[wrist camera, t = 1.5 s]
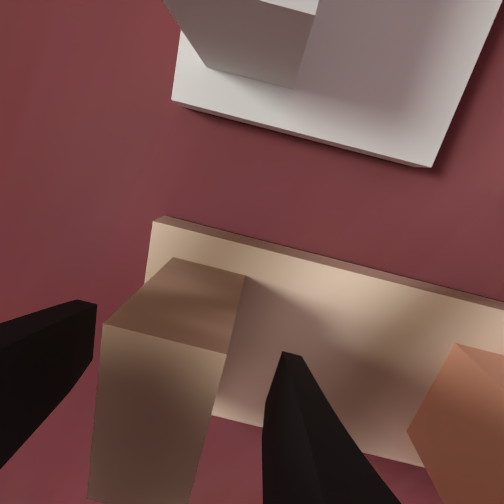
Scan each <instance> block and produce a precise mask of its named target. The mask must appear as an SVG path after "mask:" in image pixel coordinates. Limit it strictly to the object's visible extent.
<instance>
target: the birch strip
mask: <svg viewBox="0 0 504 504" xmlns="http://www.w3.org/2000/svg"><path fill="white" fill-rule="evenodd" d="M455 343H457V344H461V345H465V346H469V347H473V348H477V349H481V350H485V351H489V352H493V353H497V354H501V355H504V302H501V301H497V300H493V299H489V298H485V297H481V296H478V295H474V294H470V293H466V292H462V291H458V290H454V289H450V288H446V287H442V286H438V285H434V284H431V283H427V282H423V281H419V280H415V279H411V278H407V277H403V276H399V275H395V274H391V273H387V272H384V271H380V270H376V269H372V268H368V267H364V266H360V265H356V264H352V263H348V262H344V261H341V260H337V259H333V258H329V257H325V256H321V255H317V254H313V253H309V252H305V251H301V250H297V249H294V248H290V247H286V246H282V245H278V244H274V243H270V242H266V241H262V240H258V239H254V238H250V237H247V236H243V235H239V234H235V233H231V232H227V231H223V230H219V229H215V228H211V227H207V226H204V225H200V224H196V223H192V222H188V221H184V220H180V219H176V218H172V217H168V216H163V217H161V218H158V219H156V220H154V221H153V225H152V232H151V239H150V247H149V254H148V261H147V268H146V275H145V282H144V285H143V286H142V287H141V288H140V289H139V290H138V291H137V292H136V293H135V294H134V295H133V296H132V297H130V298H129V299H128V300H127V301H126V302H125V303H124V304H123V305H122V306H121V307H120V308H119V309H118V310H117V311H116V312H115V313H114V314H113V315H112V316H110V317H109V318H108V319H107V320H106V321H105V322H104V323H103V330H102V340H101V351H100V362H99V372H98V383H97V393H96V404H95V415H94V425H93V436H92V446H91V457H90V468H89V478H88V489H87V499H90V500H94V501H98V502H102V503H106V504H188V502H189V498H190V494H191V490H192V486H193V483H194V479H195V475H196V471H197V467H198V463H199V460H200V456H201V452H202V448H203V444H204V440H205V436H206V433H207V429H208V425H209V421H210V417H211V415H214V416H218V417H222V418H226V419H230V420H234V421H238V422H242V423H246V424H250V425H254V426H258V427H263V420H264V409H265V401H266V398H267V395H268V392H269V389H270V386H271V383H272V380H273V377H274V374H275V371H276V368H277V365H278V362H279V359H280V356H281V353H282V351H284V352H288V353H292V354H296V355H300V356H302V357H303V359H304V361H305V362H306V364H307V366H308V368H309V369H310V371H311V373H312V375H313V376H314V378H315V380H316V382H317V383H318V385H319V387H320V388H321V390H322V392H323V394H324V395H325V397H326V399H327V400H328V402H329V403H330V405H331V407H332V408H333V410H334V411H335V413H336V415H337V416H338V418H339V419H340V421H341V422H342V424H343V425H344V427H345V428H346V430H347V432H348V433H349V434H350V436H351V437H352V439H353V440H354V442H355V443H356V444H357V446H358V447H359V449H360V450H361V452H363V453H368V454H372V455H376V456H380V457H384V458H388V459H392V460H396V461H400V462H404V463H408V464H412V465H416V466H420V467H424V465H423V463H422V461H421V459H420V457H419V455H418V453H417V451H416V449H415V447H414V445H413V443H412V441H411V439H410V437H409V435H408V433H407V429H408V427H409V426H410V424H411V422H412V420H413V418H414V417H415V415H416V413H417V411H418V409H419V408H420V406H421V404H422V402H423V400H424V398H425V397H426V395H427V393H428V391H429V389H430V388H431V386H432V384H433V382H434V380H435V379H436V377H437V375H438V373H439V371H440V370H441V368H442V366H443V364H444V362H445V360H446V359H447V357H448V355H449V353H450V351H451V350H452V348H453V346H454V344H455ZM424 468H425V467H424Z"/></svg>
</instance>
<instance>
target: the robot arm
mask: <svg viewBox="0 0 504 504" xmlns="http://www.w3.org/2000/svg"><path fill="white" fill-rule="evenodd" d="M96 312H97V304H93V303H89V302H85V301H81V300H74V301H70V302H66V303H63V304H59V305H56V306H53V307H50V308H47V309H43V310H40V311H37V312H34V313H31V314H28V315H25V316H22V317H19V318H15V319H12V320H9V321H6V322H3V323H0V469H1V468H2V467H3V466H4V465H5V464H6V462H7V461H8V460H9V459H10V458H11V457H12V456H13V455H14V454H15V452H16V451H17V450H18V449H19V448H20V447H21V446H22V445H23V444H24V442H25V441H26V440H27V439H28V438H29V437H30V436H31V435H32V433H33V432H34V431H35V430H36V429H37V428H38V427H39V426H40V425H41V423H42V422H43V421H44V420H45V419H46V418H47V417H48V416H49V415H50V413H51V412H52V411H53V410H54V409H55V408H56V407H57V406H58V404H59V403H60V402H61V401H62V400H63V399H64V398H65V396H66V395H67V394H68V393H69V392H70V391H71V389H72V388H73V387H74V385H75V384H76V382H77V381H78V380H79V378H80V377H81V376H82V374H83V373H84V371H85V370H86V368H87V367H88V365H89V364H90V362H91V361H92V359H93V348H94V336H95V324H96ZM262 474H263V504H401V503H400V501H399V500H398V499H397V498H396V496H395V495H394V494H393V493H392V491H391V490H390V489H389V487H388V486H387V485H386V484H385V482H384V481H383V480H382V479H381V477H380V476H379V475H378V473H377V472H376V471H375V470H374V468H373V467H372V465H371V464H370V463H369V461H368V460H367V459H366V457H365V456H364V455H363V453H362V452H361V450H360V449H359V447H358V446H357V444H356V443H355V442H354V440H353V439H352V437H351V436H350V434H349V433H348V432H347V430H346V428H345V427H344V425H343V424H342V422H341V421H340V419H339V418H338V416H337V415H336V413H335V411H334V410H333V408H332V407H331V405H330V403H329V402H328V400H327V399H326V397H325V395H324V394H323V392H322V390H321V388H320V387H319V385H318V383H317V382H316V380H315V378H314V376H313V375H312V373H311V371H310V369H309V368H308V366H307V364H306V362H305V361H304V359H303V357H302V356H300V355H296V354H292V353H288V352H284V351H282V353H281V356H280V359H279V362H278V365H277V368H276V371H275V374H274V377H273V380H272V383H271V386H270V389H269V392H268V395H267V398H266V401H265V409H264V420H263V432H262Z"/></svg>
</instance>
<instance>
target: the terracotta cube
mask: <svg viewBox="0 0 504 504" xmlns="http://www.w3.org/2000/svg"><path fill="white" fill-rule="evenodd" d="M407 433H408V435H409V437H410V439H411V441H412V443H413V445H414V447H415V449H416V451H417V453H418V455H419V457H420V459H421V461H422V463H423V465H424V467H425V469H426V471H427V473H428V475H429V477H430V479H431V481H432V483H433V485H434V487H435V489H436V491H437V493H438V495H439V497H440V499H441V501H442V502H443V504H504V355H501V354H497V353H493V352H489V351H485V350H481V349H477V348H473V347H469V346H465V345H461V344H457V343H455V344H454V346H453V348H452V350H451V351H450V353H449V355H448V357H447V359H446V360H445V362H444V364H443V366H442V368H441V370H440V371H439V373H438V375H437V377H436V379H435V380H434V382H433V384H432V386H431V388H430V389H429V391H428V393H427V395H426V397H425V398H424V400H423V402H422V404H421V406H420V408H419V409H418V411H417V413H416V415H415V417H414V418H413V420H412V422H411V424H410V426H409V427H408V429H407Z"/></svg>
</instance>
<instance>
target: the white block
mask: <svg viewBox="0 0 504 504" xmlns="http://www.w3.org/2000/svg"><path fill="white" fill-rule="evenodd" d="M162 2H163V3H164V5H165V6H166V8H167V9H168V11H169V12H170V14H171V15H172V17H173V18H174V20H175V21H176V23H177V24H178V26H179V27H180V29H181V34H180V41H179V48H178V56H177V63H176V70H175V77H174V84H173V91H172V98H171V100H172V101H174V102H175V103H177V104H179V105H180V106H182V107H185V108H189V109H193V110H197V111H200V112H204V113H208V114H212V115H216V116H220V117H224V118H227V119H231V120H235V121H239V122H243V123H247V124H250V125H254V126H258V127H262V128H266V129H270V130H273V131H277V132H281V133H285V134H289V135H293V136H297V137H300V138H304V139H308V140H312V141H316V142H320V143H323V144H327V145H331V146H335V147H339V148H343V149H346V150H350V151H354V152H358V153H362V154H366V155H370V156H373V157H377V158H381V159H385V160H389V161H393V162H396V163H400V164H404V165H408V166H412V167H429V168H431V167H432V165H433V163H434V160H435V158H436V156H437V153H438V151H439V148H440V146H441V144H442V141H443V139H444V137H445V134H446V132H447V130H448V127H449V125H450V123H451V120H452V118H453V116H454V113H455V111H456V108H457V106H458V104H459V101H460V99H461V97H462V94H463V92H464V90H465V87H466V85H467V83H468V80H469V78H470V76H471V73H472V71H473V68H474V66H475V64H476V61H477V59H478V57H479V54H480V52H481V50H482V47H483V45H484V43H485V40H486V38H487V36H488V33H489V31H490V28H491V26H492V24H493V21H494V19H495V17H496V14H497V12H498V10H499V7H500V5H501V3H502V0H162Z"/></svg>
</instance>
